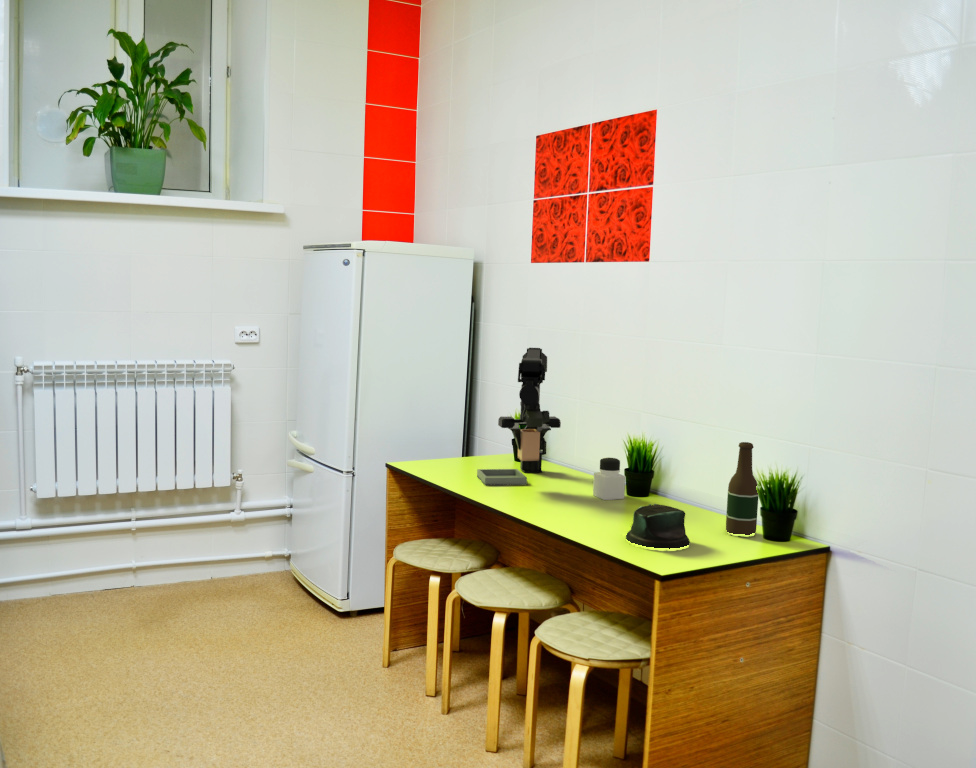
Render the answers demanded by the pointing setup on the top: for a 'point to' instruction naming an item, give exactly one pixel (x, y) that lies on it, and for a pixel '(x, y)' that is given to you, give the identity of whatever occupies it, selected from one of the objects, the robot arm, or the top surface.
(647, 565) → the top surface
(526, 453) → the terracotta cup
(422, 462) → the top surface
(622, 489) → the medicine bottle
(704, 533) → the top surface
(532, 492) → the top surface
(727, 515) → the beer bottle
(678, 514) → the dark green bucket hat
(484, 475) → the tray
